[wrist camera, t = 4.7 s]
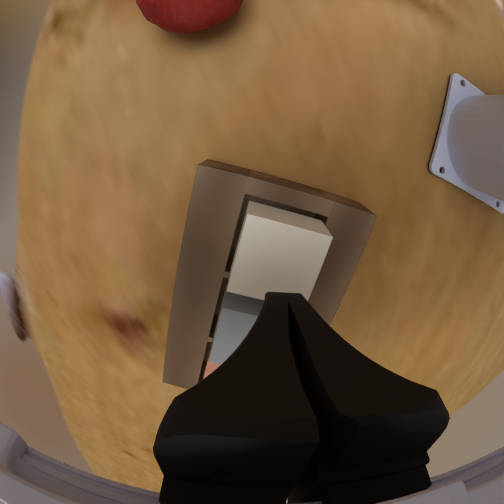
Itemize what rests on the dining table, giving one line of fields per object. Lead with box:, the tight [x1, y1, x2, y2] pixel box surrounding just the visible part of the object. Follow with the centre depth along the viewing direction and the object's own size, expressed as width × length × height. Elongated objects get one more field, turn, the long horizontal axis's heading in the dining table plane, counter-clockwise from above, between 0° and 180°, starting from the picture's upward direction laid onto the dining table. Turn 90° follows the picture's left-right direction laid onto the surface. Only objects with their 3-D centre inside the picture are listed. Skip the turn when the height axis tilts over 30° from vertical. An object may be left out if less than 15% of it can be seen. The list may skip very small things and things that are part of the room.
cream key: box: [227, 201, 333, 301], centre depth 15 cm, size 4×4×3 cm
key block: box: [163, 160, 376, 389], centre depth 19 cm, size 10×16×3 cm, turn 165°
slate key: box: [209, 283, 264, 365], centre depth 17 cm, size 4×4×3 cm
